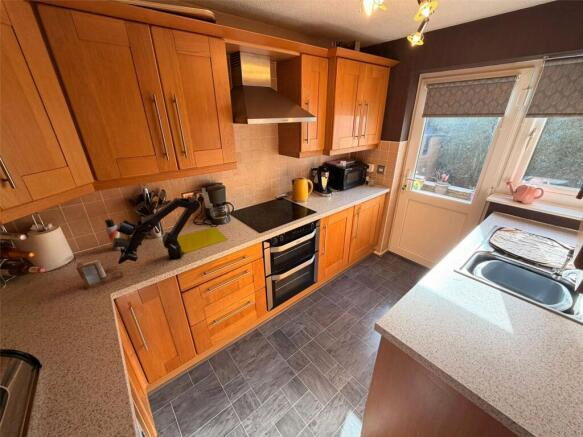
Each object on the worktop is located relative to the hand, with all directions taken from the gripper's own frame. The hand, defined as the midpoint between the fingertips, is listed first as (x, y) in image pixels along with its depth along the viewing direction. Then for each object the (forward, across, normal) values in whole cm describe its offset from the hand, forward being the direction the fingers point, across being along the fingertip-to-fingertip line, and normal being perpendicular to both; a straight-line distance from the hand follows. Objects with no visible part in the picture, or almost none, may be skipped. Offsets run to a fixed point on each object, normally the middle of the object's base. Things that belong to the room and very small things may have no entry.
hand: (118, 263), depth 121 cm
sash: (+10, 0, -4) cm, 11 cm away
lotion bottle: (+4, -31, +5) cm, 32 cm away
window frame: (+10, +1, -1) cm, 10 cm away
